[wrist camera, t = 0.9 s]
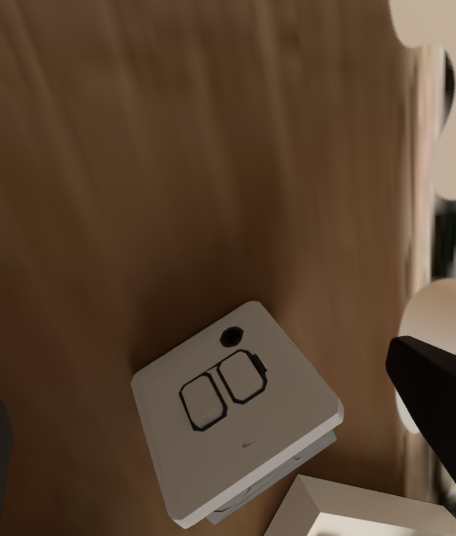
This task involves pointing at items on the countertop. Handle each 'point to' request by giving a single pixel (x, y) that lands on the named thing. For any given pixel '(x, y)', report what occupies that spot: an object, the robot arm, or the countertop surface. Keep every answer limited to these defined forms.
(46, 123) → the countertop surface
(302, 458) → the electrical switch
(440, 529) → the power strip
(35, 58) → the countertop surface
